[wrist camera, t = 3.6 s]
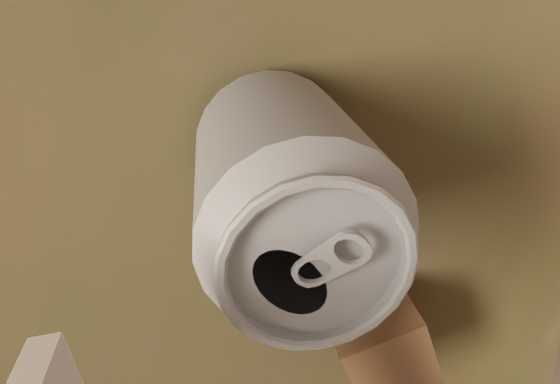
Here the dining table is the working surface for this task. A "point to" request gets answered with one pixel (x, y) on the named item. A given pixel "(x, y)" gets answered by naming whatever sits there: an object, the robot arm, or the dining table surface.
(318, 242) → the can
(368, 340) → the walnut block
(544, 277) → the dining table surface
